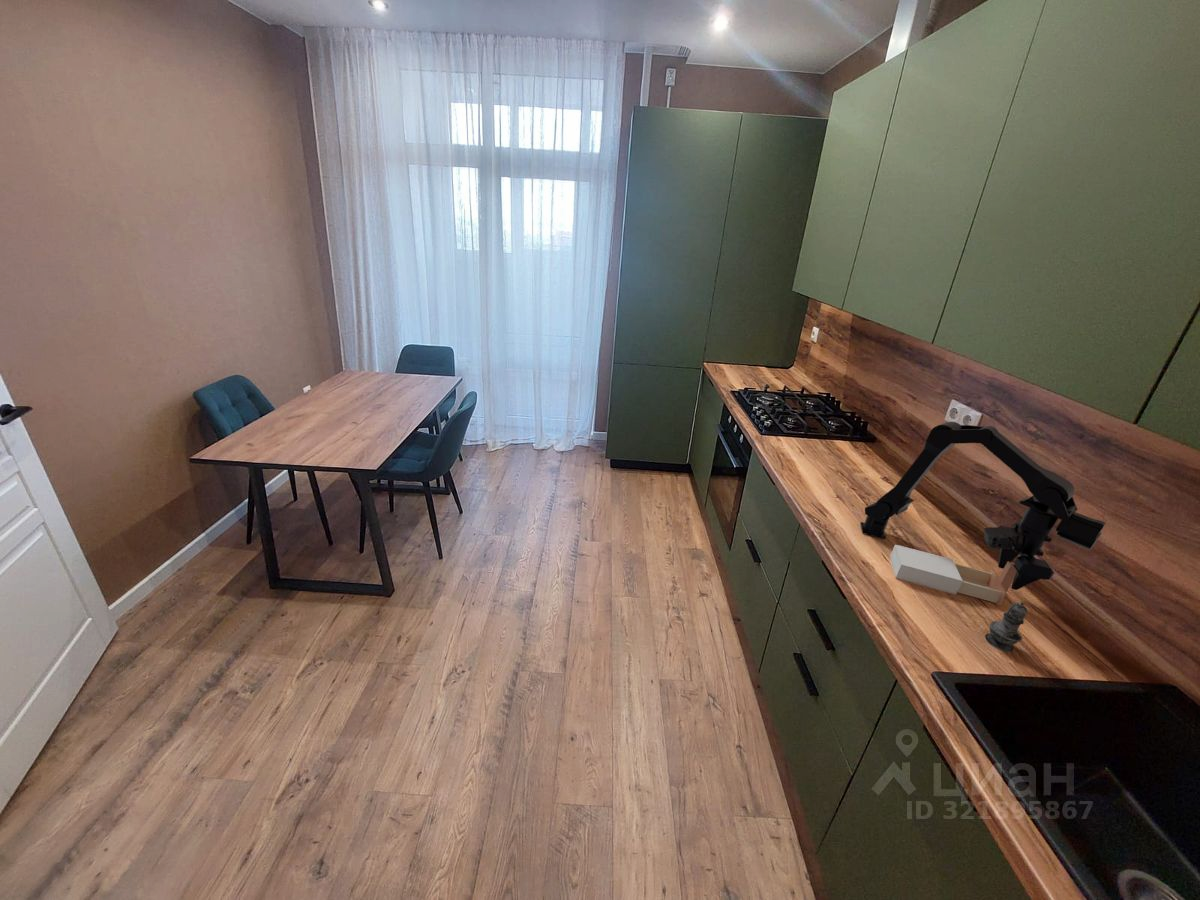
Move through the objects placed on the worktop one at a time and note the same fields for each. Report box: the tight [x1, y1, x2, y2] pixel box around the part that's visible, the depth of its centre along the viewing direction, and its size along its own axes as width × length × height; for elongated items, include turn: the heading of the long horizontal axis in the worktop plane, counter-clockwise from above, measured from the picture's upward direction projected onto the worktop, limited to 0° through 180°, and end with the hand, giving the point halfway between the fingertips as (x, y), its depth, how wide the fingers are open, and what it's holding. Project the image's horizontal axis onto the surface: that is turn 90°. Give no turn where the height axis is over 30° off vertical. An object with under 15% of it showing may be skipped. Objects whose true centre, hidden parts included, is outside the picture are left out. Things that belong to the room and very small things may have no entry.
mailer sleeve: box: [889, 544, 963, 596], centre depth 129 cm, size 10×14×4 cm
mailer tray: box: [954, 561, 1017, 606], centre depth 124 cm, size 10×16×10 cm, turn 69°
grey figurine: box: [984, 601, 1028, 653], centre depth 106 cm, size 6×6×12 cm
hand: (1006, 578), depth 122 cm, fingers open, 9 cm apart
